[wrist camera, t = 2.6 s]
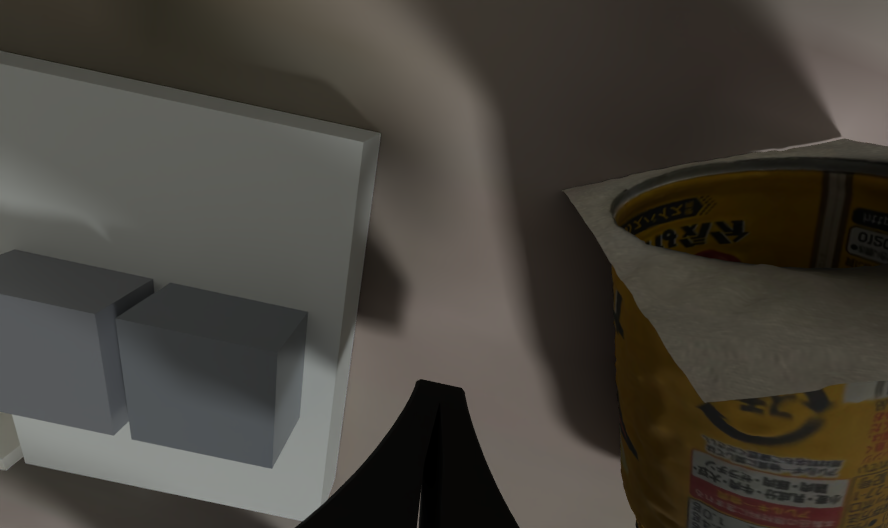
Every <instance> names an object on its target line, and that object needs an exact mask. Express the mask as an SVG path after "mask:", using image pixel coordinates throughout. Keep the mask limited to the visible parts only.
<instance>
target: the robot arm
mask: <svg viewBox="0 0 888 528" xmlns="http://www.w3.org/2000/svg"><path fill="white" fill-rule="evenodd" d="M421 485H422V486H421ZM420 493H421V501H420ZM419 502H420V516H419V528H519V526H518V524H517V522H516V521H515V519H514V517H513V515H512V514H511V512H510V510H509V508H508V506H507V504H506V503H505V501H504V499H503V497H502V495H501V493H500V491H499V489H498V487H497V485H496V483H495V481H494V478H493V476H492V474H491V472H490V469H489V467H488V465H487V462H486V460H485V457H484V455H483V452H482V450H481V447H480V444H479V442H478V439H477V436H476V433H475V430H474V427H473V424H472V421H471V418H470V414H469V410H468V407H467V402H466V398H465V392H464V391H463V389H462V388H459V387H455V386H450V385H445V384H441V383H436V382H431V381H427V380H422V379H420V380H418V381H416V384H415V387H414V390H413V392H412V394H411V397H410V399H409V400H408V402H407V404H406V406H405V408H404V409H403V411H402V412H401V414H400V416H399V417H398V419H397V420H396V422H395V423H394V425H393V426H392V428H391V429H390V431H389V432H388V433H387V435H386V436H385V437H384V438H383V440H382V441H381V442H380V444H379V445H378V446H377V448H376V449H375V450H374V451H373V453H372V454H371V455H370V456H369V457H368V459H367V460H366V461H365V462H364V463H363V464H362V465H361V467H360V468H359V469H358V470H357V471H356V472H355V473H354V474H353V475H352V476H351V477H350V478H349V479H348V480H347V481H346V482H345V483H344V484H343V485H342V486H341V487H340V488H339V489H338V490H337V491H336V492H335V493H334V494H333V495H332V496H331V497H330V498H329V499H328V500H327V501H326V502H325V503H324V504H322V505H321V506H320V507H319V508H318V509H316V510H315V511H314V512H313V513H312V514H311V515H309V516H308V517H307V518H306V519H305V520H304V521H302V522H301V523H300V524H299V525H298V526H296V527H295V528H417V520H418V511H419Z"/></svg>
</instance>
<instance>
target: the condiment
mask: <svg viewBox="0 0 888 528" xmlns="http://www.w3.org/2000/svg"><path fill="white" fill-rule="evenodd" d="M562 191H564V192H565V193H566V194H567V196H568V197H569V199H570V201H571V203H572V204H574V206H575V207H576V209H577V211H578V212H579V214H580V215H581V216H582V218H583V220H584V222H585V223H586V224H587V226H588V227H589V229H590V230H591V231H592V233H593V234H594V236H595V237H596V239H597V241H598V242H599V244H600V245H601V247H602V249H603V251H604V253H605V254H606V256H607V258H608V260H609V261H610V263H611V264H612V272H611V273H612V280H613V301H614V308H613V312H614V325H615V328H616V336H615V357H616V359H617V361H616V363H615V367H616V369H617V370H616V384H617V387H618V391H617V398H618V403H619V415H620V424H619V425H620V429H619V430H620V435H621V443H620V448H621V474H622V479H623V486H624V489H625V493H626V496H627V499H628V502H629V504H630V507H631V509H632V511H633V512H634V514H635V516H636V528H888V146H882V145H876V144H871V143H863V142H857V141H853V140H849V139H840V140H836V141H832V142H827V143H822V144H817V145H811V146H806V147H799V148H792V149H788V150H785V151H776V150H774V151H768V152H754V153H748V154H743V155H736V156H731V157H728V158H718V159H713V160H709V161H703V162H693V163H687V164H682V165H677V166H672V167H668V168H665V169H660V170H651V171H646V172H643V173H638V174H631V175H629V176H627V177H624V178H620V179H609V180H606V181H604V182H601V183H594V184H591V185H584V186H581V187H578V186H576V187H573V188H569V189H566V190H562Z"/></svg>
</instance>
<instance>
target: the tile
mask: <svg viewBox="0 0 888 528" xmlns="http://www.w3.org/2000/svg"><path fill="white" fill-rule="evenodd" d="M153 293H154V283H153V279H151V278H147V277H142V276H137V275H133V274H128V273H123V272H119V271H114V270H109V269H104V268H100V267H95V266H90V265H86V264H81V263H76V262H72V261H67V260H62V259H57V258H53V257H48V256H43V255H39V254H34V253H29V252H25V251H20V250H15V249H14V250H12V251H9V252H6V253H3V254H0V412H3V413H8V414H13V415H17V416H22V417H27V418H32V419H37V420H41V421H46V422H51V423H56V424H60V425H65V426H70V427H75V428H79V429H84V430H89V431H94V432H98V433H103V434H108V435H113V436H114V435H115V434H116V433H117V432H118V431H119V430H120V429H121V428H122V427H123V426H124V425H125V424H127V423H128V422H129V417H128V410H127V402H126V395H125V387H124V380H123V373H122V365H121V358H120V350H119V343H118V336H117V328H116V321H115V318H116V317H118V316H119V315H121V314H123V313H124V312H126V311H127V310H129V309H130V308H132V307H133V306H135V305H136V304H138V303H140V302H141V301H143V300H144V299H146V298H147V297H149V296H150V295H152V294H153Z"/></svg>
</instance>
